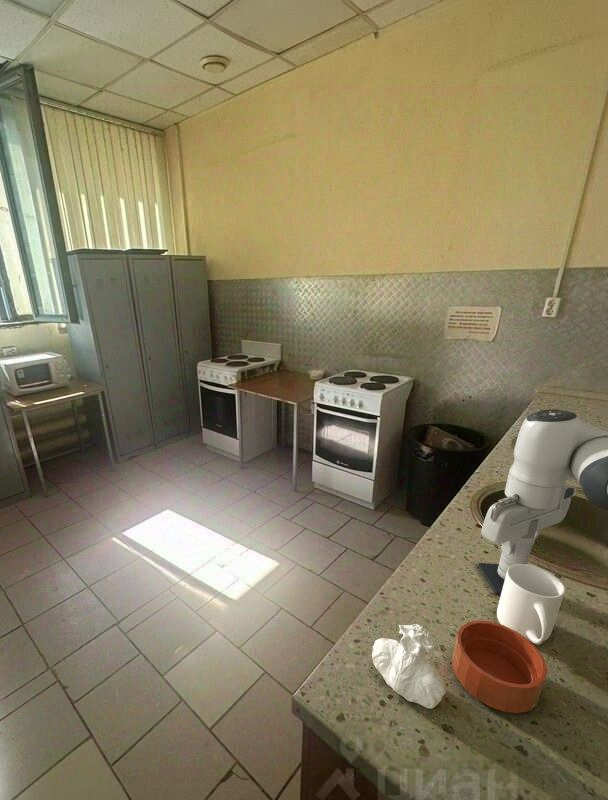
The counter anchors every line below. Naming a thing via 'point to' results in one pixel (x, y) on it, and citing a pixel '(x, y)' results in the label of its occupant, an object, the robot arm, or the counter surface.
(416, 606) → the counter surface
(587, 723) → the counter surface
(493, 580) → the mat
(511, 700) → the bowl
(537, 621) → the mug
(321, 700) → the counter surface
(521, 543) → the container
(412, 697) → the white plastic bag
